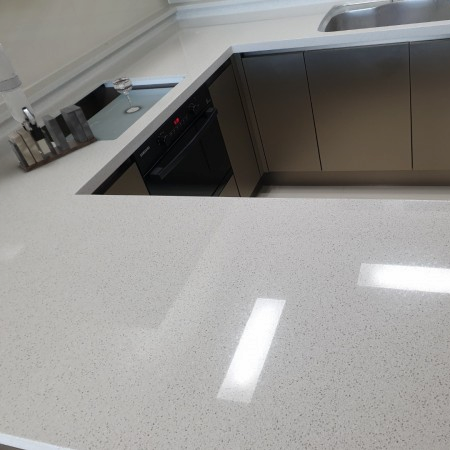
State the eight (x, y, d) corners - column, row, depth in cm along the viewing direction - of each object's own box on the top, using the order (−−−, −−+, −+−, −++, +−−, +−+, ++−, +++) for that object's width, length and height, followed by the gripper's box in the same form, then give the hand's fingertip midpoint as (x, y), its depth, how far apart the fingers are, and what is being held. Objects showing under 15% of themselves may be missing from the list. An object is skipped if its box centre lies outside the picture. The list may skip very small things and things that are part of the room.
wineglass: (131, 106, 185) (119, 77, 178) (144, 106, 182) (133, 76, 175) (120, 113, 180) (108, 83, 173) (134, 113, 178) (122, 83, 171)
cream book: (44, 154, 151) (28, 126, 145) (38, 150, 155) (22, 122, 150) (50, 151, 152) (35, 123, 147) (44, 147, 157) (29, 119, 151)
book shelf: (27, 171, 149) (7, 137, 142) (20, 165, 154) (0, 132, 147) (97, 140, 161) (81, 107, 154) (88, 136, 166) (72, 103, 159)
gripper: (-12, 85, 144) (17, 136, 155) (2, 92, 133) (33, 148, 144) (12, 76, 148) (39, 127, 159) (28, 83, 137) (57, 138, 147)
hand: (36, 137), depth 151 cm, fingers closed on cream book, 6 cm apart
